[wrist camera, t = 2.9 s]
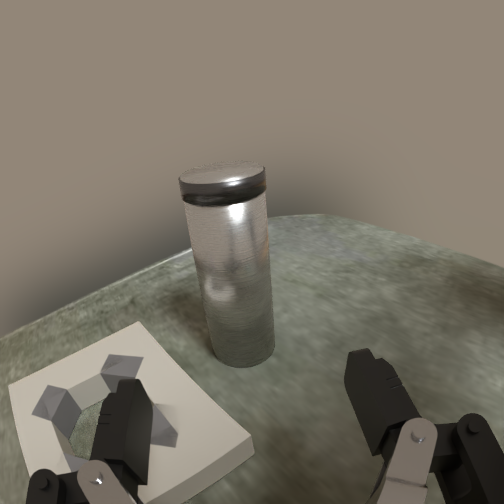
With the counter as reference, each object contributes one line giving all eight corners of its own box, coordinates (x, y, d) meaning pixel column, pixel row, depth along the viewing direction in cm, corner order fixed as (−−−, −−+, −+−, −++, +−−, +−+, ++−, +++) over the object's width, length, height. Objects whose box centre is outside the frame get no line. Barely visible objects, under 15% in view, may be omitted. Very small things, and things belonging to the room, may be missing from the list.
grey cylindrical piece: (247, 316, 28) (229, 158, 22) (289, 343, 25) (283, 166, 18) (199, 344, 26) (163, 176, 19) (240, 379, 22) (210, 187, 15)
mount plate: (147, 343, 26) (138, 321, 25) (254, 453, 16) (251, 435, 15) (23, 405, 19) (8, 385, 18) (81, 552, 9) (57, 543, 8)
